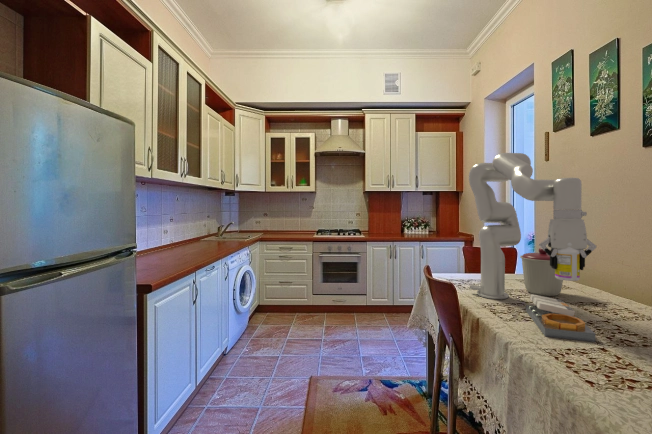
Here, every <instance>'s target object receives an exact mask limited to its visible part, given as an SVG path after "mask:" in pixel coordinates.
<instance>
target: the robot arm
mask: <svg viewBox="0 0 652 434" xmlns="http://www.w3.org/2000/svg"><path fill="white" fill-rule="evenodd" d="M531 163H532V161H531V159H530V157H529V155H527V154H525V153H524V152H523V153H522V152H521V153H520V152H502V153H499V154H497V155H496V156H495V157H494V158H493V160H492V162H480V163H475V164H474V165H473V166H472V167H471V168H470V170H469V172H468V173H469V174H468V182H469V186H470V189H471V191H472V194H473V196H474V202H475V206H476V211H477V216H478V219H479V221H480V222H481V223H487V225H484V226H482V227H481V228H480V229H479V231H478V241H479V246H480V283H479V284H477V285H476V284H475V285H474V284H470V285H469V290H473V291H476V294H477V296H479V297H482V298H485V299H491V300H492V299H493V300H505V299H508V298H509V294H508V293H507V292H506V291H505V288H506V287H505V286H506V285H505V282H506V281H505V279H506V277H505V276H506V272H505V271H506V268H505V267H506V258H505V256H506V255H505V253H504V252H503V250H502V248H501V247H512V246H513V247H514V246H517V245H519V243H520V242H521V239H522V233H521V226H520V223H519V219H518V214H517V211H516V209H515V207H514V206H513V204H511V203H509V202H507V201H506V202H505V201H497V198H496V193H495V191H494V189H493V188H492V186H490V184H489V183H488V182H492V183H495V182H496V183H497V182H498V183H499V182H501V183H504V182H509V181H510V184H511V188H512V190H513V191H514V192H515V193H516V194H517V195H518V196H520V197H522V198H523V199H525V200H527V201H531V202H544V201H545V202H553V204H552V205H553V206H552V207H553V218H552V219H549V220H550V221H549V224H548V230H547V238H546V239H544V240H543V241H541V242H540V243H539V245H538V246H539V247H540V248H542V249H543V250H544V251H545V252H546V253H547V254H548V255H549V256H550V266H551V267H552V268H553V269H557V257H556V253H557V252H558V250H559V249H566V248H568V247H571V248H572V249H577V250H579V252H580V271H584V268H585V267H586V258H587V257H588V256H590V254H591V253H592V252H593V251H595V250H596V249H597V245H596V244H595V243H593V241H591V240H589V239H588V235H587V234H588V233H587V227H586V223H585V219H582V218H583V217H586V216H587V215H588V214H587V211H584V210H582V188H583V187H582V180H581V179H580V178H578V177H561V178H557V179H533V178H532V176H533V173H534V168H533V167H532V166H531V165H532V164H531ZM499 223H500V224H499ZM489 224H490V225H489ZM568 243H571V244H572V245H571V246H568V245H567V244H568ZM548 247H549V248H550V249H549V248H548Z"/></svg>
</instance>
